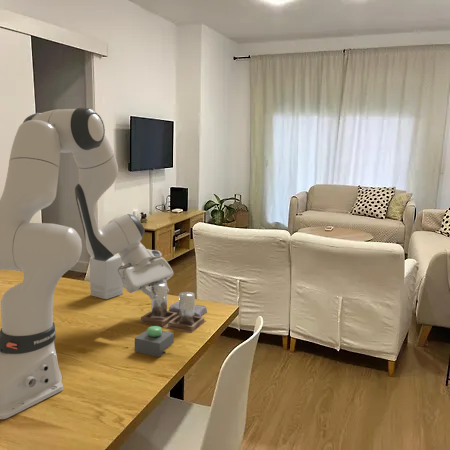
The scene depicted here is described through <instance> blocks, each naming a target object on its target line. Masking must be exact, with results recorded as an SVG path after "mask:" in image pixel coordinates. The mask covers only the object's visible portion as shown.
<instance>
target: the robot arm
mask: <svg viewBox="0 0 450 450" xmlns="http://www.w3.org/2000/svg"><path fill="white" fill-rule="evenodd" d="M105 131H106V129H105V124H104V120H103V119H102V117H101V115H100V114H98V113H97V112H96V111H95V110H94V109H92V108H88V107H77V108H65V109H63V108H62V109H61V108H58V109H52V110H48V111H43V112H36V113H34V114H31V115H28V116H27V117H26V118H25V119H24V120H23V121H22V123H21V124H20V125H19V126H18V129H17V131H16V134H15V135H14V140H13V143H12V145H11V149H10V155H9V161H8V166H7V167H8V168H7V173H6V179H5V184H4V188H3V192H2V194H1V197H0V271H1V270H2V271H20V272H21V271H22V272H23V279H22V282H20V283H18V284H16V285H14V286H12V287H10V288H8V289H7V290H6V291H5V292H4V293H3V294H2V297H1V300H0V317H1V319H0V320H1V328H0V420H6V419H9V418H11V417H13V416H15V415H16V414H19V413H20V412H23V411H25V410H26V409H28V408H31V407H32V406H34V405H36V404H38V403H40V402H42V401H44V400H46V399H48V398H50V397H53V396H54V395H56V394H58V393H60V392H62V391H63V390H64V385H63V382H62V379H63V376H62V373H61V369H60V366H59V362H58V356H57V351H56V347H55V346H56V345H55V340H56V324H55V322H54V317H53V315H54V313H53V310H54V309H53V307H54V294H55V290H56V287H57V285H58V282H59V281H60V280H61V278H63V276H64V274H66V273H67V272H68V271H70V270H71V269H72V268H73V267H74V266H76V264H77V263H78V262H79V260H80V258H81V256H82V253H83V242H82V238H81V236H80V234H79V233H78V231H76V229H74V227H70V226H67V225H61V224H57V223H45V222H31V220H32V218H34V216H35V215H36V214H37V213H39V211H41V210H43V209H46V208H48V207H49V206H51V205H52V204H53V202H54V201H55V199H56V197H57V191H58V182H59V174H60V173H59V172H60V164H61V154H62V153H64V154H68V153H72V154H71V155H72V158H73V160H74V162H75V164H76V167H77V170H78V182H77V184H76V186H75V187H74V194H75V195H74V196H75V199H76V200H75V201H76V205H77V209H78V215H79V218H80V221H81V224H82V229H83V233H84V240H85V247H86V250H87V252H88V254H89V255H90V256H91V257H92V258H93V259H95V260H99V261H107V260H108V259H110V258H111V257H113V256H114V255H115V256H116V255H117V254H118V256H120V257H121V260H122V264H123V266H120V267H119V268H118V274H119V275H120V277H121V280H122V283H123V288H124V289H125V290H126V292H128V293H130V294H132V293H135V292H138V291H141V292H142V293H143V294H145V295H147V296H148V297H149V299H150V300H151V299H154V298H155V297H156V296H157V295H156V294H155V292H152V289H150V287H152V283H156V282H164V283H166V284H167V285H168V283H167V282H168V280H170V279H171V278H172V277H173V276H174V270H173V269H172V267H171V265H170V264H169V262H168V261H167V260H166V259H165V257H163V256H162V255H163V254H162V252H161V251H160V250H155V249H150V248H146V247H145V245H144V244H143V243H142V242H141V241H142V239H144V235H145V231H146V229H145V227H144V226H143V224H142V222H141V221H140V220H139V218H138V217H137V216H136V215H134V214H130V213H128V214H124V215H122V216H120V217H116V218H113V219H111V220H110V221H109V222H107V224H105V225H103V226H101V227H99V224H98V219H97V216H96V212H95V211H96V208H95V207H96V204H97V203H98V201H99V200H100V198H101V197H102V195H104V194H105V193H106V192H107V191H108V190H109V189H110V188H111V187H112V186H113V184H114V183H115V181H116V180H117V177H118V175H119V166H118V162H117V159H116V158H117V157H116V156H115V153H114V151H113V149H112V145H111V144H110V142H109V140H108V137H107V136H106V134H105V133H106V132H105ZM119 269H120V270H119ZM169 292H170V289H169V286H167V294H168V293H169Z"/></svg>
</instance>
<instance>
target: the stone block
mask: <svg viewBox="0 0 450 450" xmlns="http://www.w3.org/2000/svg"><path fill="white" fill-rule="evenodd" d="M207 308H208V307H207V306H205V305H202V304H195V311H194V316H197V317H203V315H205V314H206V313H208V312H207V311H208V309H207ZM168 311H170V312H175V313H177V315H179V301H175V302H174V303H173V304H170V306H169V307H168Z"/></svg>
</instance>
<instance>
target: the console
mask: <svg viewBox="0 0 450 450" xmlns="http://www.w3.org/2000/svg"><path fill="white" fill-rule="evenodd" d="M174 335H175V334H174V332H173V331H168V330H166V331H165V330H162V334H161V335H160V336H157V337H156V338H155V337H151V336H148V335H147V329H146V330H145V331H143V332H142V333H140V334H139V335H137V336H136V337H134V352H135V353H140V354H143V355H149V356H152V357H156V358H160V357H162V356H163V355H164V354H165V353H166V351H165V350H166V349H168V348H169V347H170V346H171V345H173V344H174V340H175V339H174V338H175V336H174Z"/></svg>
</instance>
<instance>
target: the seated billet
mask: <svg viewBox="0 0 450 450" xmlns="http://www.w3.org/2000/svg"><path fill="white" fill-rule="evenodd" d="M195 295H196V294H195V293H194V292H192V291H182V292H180V293H179V294H178V302H179V323H180V324H185V325H190V326H192V325H193V324H194V311H195V305H196V303H195V302H196V296H195Z"/></svg>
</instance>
